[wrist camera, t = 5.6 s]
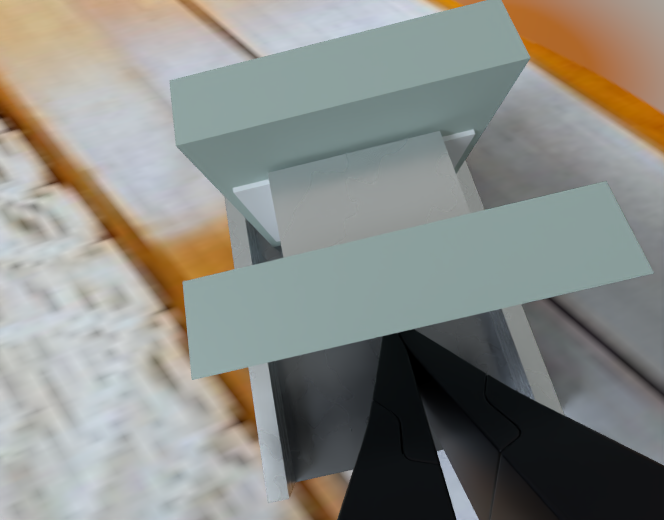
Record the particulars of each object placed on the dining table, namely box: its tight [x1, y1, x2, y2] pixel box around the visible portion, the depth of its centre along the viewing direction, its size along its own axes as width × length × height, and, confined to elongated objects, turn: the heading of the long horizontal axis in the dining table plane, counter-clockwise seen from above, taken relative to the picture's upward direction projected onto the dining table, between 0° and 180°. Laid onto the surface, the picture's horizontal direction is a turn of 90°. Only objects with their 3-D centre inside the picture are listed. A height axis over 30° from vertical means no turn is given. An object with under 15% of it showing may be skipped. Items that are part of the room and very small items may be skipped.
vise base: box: [224, 160, 565, 503], centre depth 16 cm, size 16×15×2 cm
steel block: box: [268, 131, 470, 258], centre depth 13 cm, size 4×6×8 cm, turn 103°
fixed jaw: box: [170, 0, 530, 247], centre depth 13 cm, size 2×10×10 cm, turn 103°
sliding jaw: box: [183, 181, 654, 380], centre depth 11 cm, size 2×10×10 cm, turn 103°
